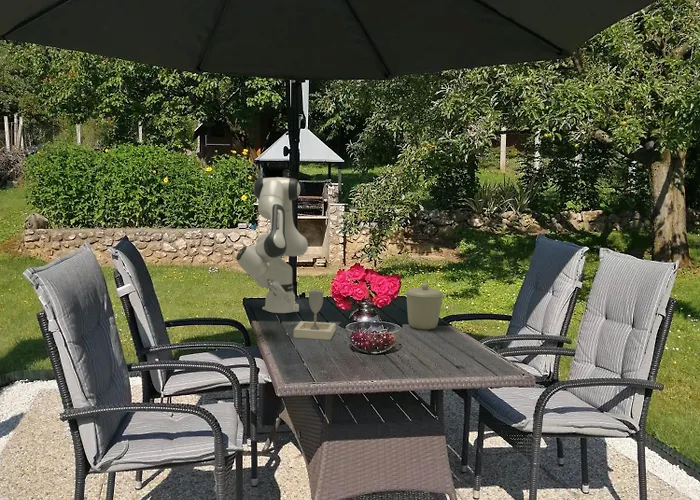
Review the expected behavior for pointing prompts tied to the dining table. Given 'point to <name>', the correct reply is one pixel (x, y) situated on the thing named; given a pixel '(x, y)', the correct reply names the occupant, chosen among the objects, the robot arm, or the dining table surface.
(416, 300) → the canister
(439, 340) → the dining table surface
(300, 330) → the tray
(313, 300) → the chalice
